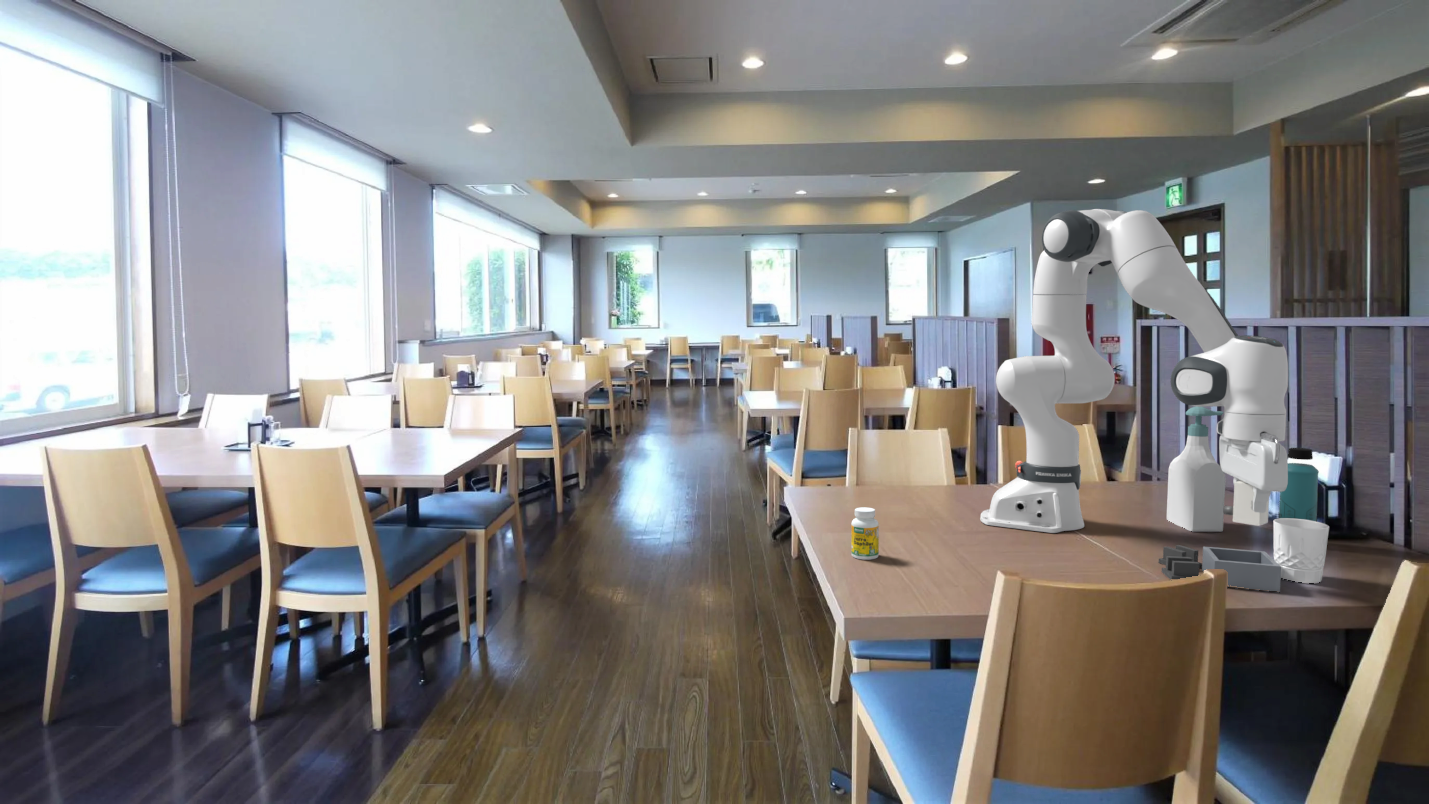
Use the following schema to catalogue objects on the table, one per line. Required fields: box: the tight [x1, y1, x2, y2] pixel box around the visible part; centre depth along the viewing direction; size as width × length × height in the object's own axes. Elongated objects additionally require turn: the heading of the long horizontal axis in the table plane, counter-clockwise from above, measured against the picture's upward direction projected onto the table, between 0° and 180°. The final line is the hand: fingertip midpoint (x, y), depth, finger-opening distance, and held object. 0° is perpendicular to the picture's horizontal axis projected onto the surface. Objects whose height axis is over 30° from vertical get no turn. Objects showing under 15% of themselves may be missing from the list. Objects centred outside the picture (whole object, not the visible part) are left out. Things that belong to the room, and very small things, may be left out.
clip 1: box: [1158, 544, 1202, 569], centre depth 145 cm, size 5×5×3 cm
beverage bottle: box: [1277, 447, 1319, 522], centre depth 159 cm, size 6×7×20 cm
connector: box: [1223, 481, 1270, 527], centre depth 135 cm, size 6×4×7 cm, turn 36°
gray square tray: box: [1201, 546, 1281, 593], centre depth 136 cm, size 10×10×4 cm
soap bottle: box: [1166, 406, 1227, 533], centre depth 173 cm, size 11×8×27 cm
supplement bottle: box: [850, 506, 880, 561], centre depth 153 cm, size 5×5×10 cm
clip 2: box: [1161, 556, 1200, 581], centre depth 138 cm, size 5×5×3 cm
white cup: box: [1272, 518, 1330, 584], centre depth 137 cm, size 8×8×10 cm
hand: (1250, 507), depth 134 cm, fingers closed on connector, 6 cm apart
